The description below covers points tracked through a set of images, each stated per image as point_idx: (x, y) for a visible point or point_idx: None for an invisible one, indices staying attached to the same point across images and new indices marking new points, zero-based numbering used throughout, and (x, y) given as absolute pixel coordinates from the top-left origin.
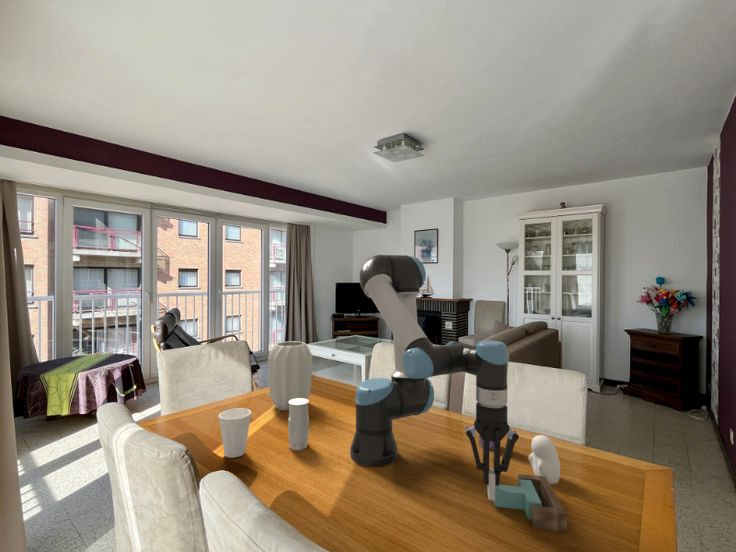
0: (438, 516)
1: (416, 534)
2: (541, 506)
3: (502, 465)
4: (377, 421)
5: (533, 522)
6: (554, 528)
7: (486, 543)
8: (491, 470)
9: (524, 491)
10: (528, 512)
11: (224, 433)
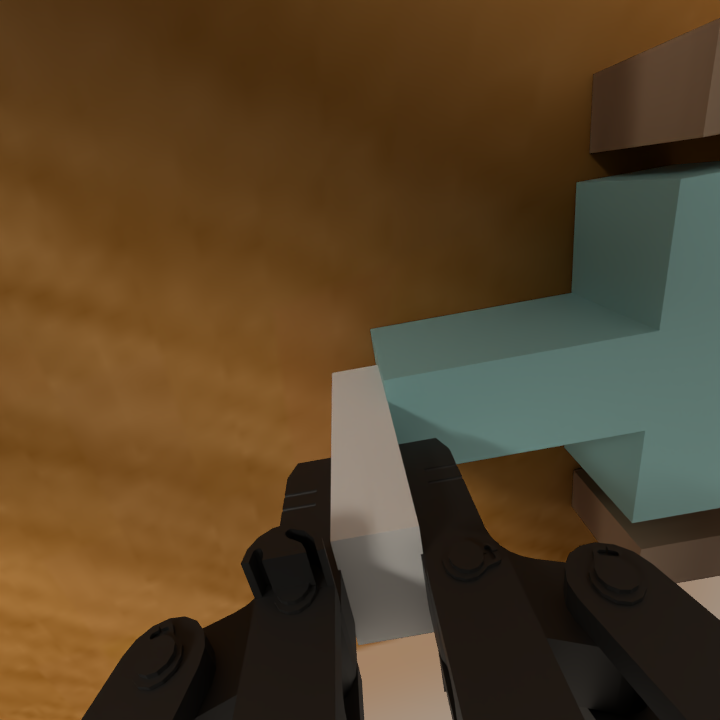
0: (93, 580)
1: (61, 692)
2: (706, 538)
3: (597, 687)
4: None
5: (586, 518)
6: None
7: None
8: (388, 573)
9: (654, 402)
10: (587, 471)
11: None
